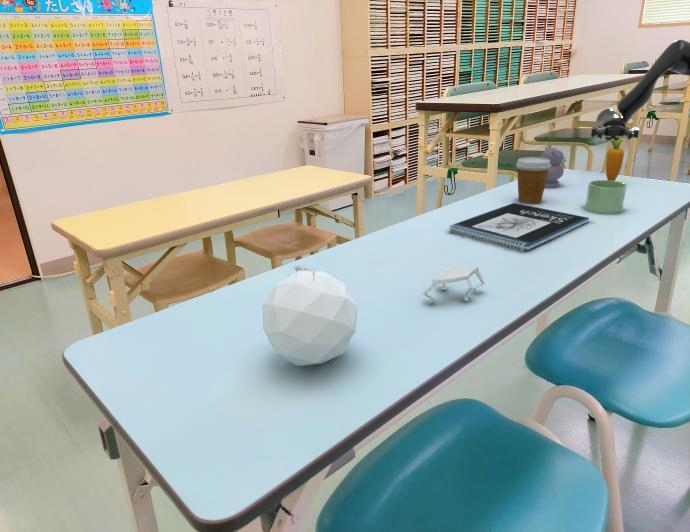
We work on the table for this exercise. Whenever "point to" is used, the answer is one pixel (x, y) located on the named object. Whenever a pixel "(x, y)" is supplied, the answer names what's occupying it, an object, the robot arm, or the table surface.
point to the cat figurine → (553, 166)
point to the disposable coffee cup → (532, 178)
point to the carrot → (614, 160)
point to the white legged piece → (455, 278)
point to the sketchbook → (519, 226)
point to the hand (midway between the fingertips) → (615, 135)
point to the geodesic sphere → (309, 317)
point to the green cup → (605, 196)
